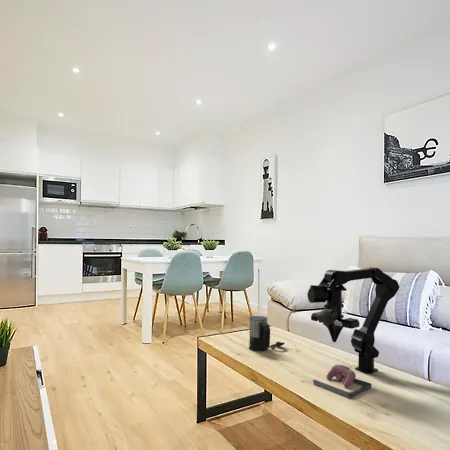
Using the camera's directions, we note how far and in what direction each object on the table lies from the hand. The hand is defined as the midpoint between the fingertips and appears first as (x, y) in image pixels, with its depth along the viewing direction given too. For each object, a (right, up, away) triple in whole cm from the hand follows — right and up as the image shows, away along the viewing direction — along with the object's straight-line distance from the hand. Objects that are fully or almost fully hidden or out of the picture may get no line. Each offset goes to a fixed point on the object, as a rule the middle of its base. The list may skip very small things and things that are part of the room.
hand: (334, 341), depth 137 cm
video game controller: (-1, -12, -10) cm, 15 cm away
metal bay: (-2, -11, -13) cm, 17 cm away
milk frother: (-23, -14, +31) cm, 41 cm away
